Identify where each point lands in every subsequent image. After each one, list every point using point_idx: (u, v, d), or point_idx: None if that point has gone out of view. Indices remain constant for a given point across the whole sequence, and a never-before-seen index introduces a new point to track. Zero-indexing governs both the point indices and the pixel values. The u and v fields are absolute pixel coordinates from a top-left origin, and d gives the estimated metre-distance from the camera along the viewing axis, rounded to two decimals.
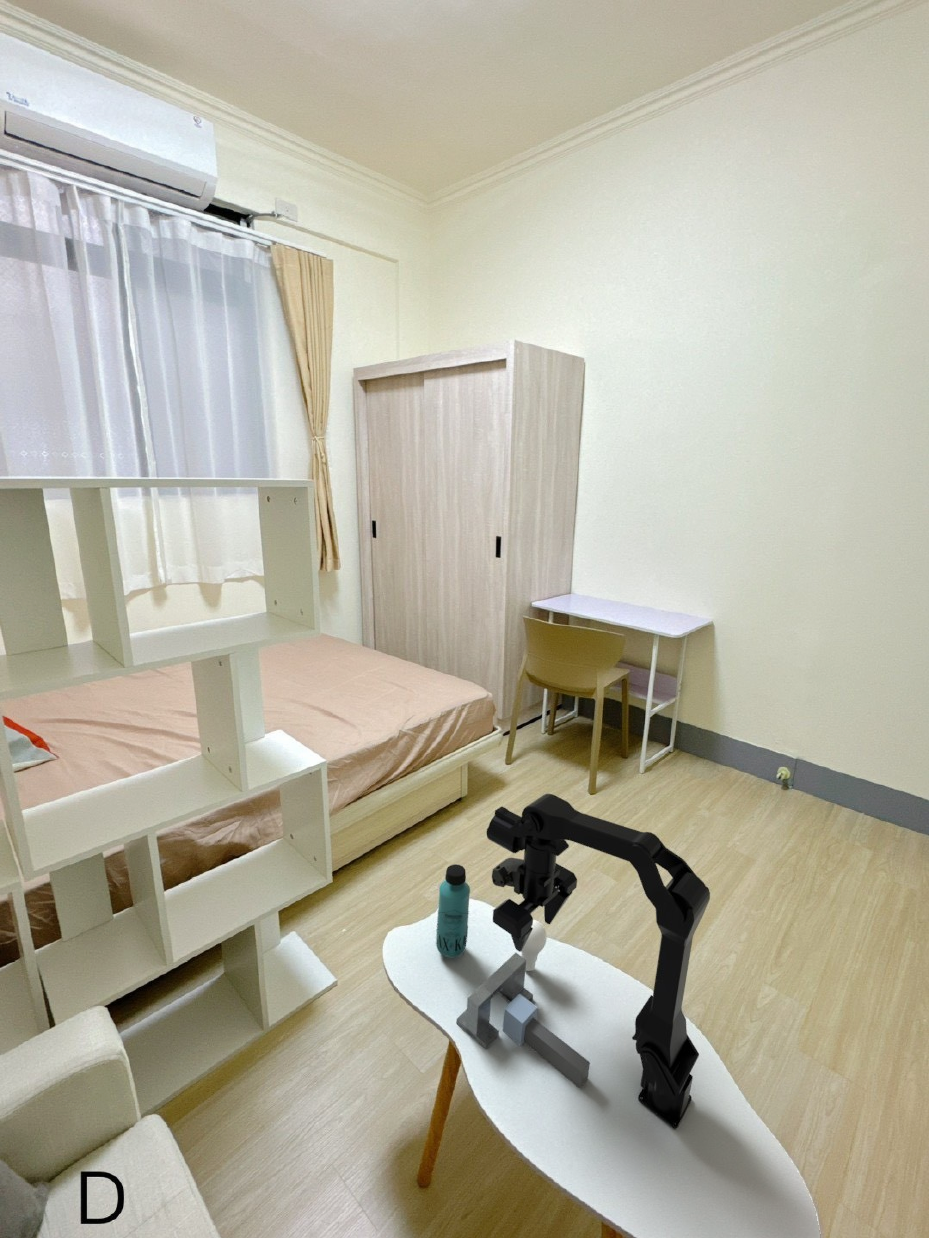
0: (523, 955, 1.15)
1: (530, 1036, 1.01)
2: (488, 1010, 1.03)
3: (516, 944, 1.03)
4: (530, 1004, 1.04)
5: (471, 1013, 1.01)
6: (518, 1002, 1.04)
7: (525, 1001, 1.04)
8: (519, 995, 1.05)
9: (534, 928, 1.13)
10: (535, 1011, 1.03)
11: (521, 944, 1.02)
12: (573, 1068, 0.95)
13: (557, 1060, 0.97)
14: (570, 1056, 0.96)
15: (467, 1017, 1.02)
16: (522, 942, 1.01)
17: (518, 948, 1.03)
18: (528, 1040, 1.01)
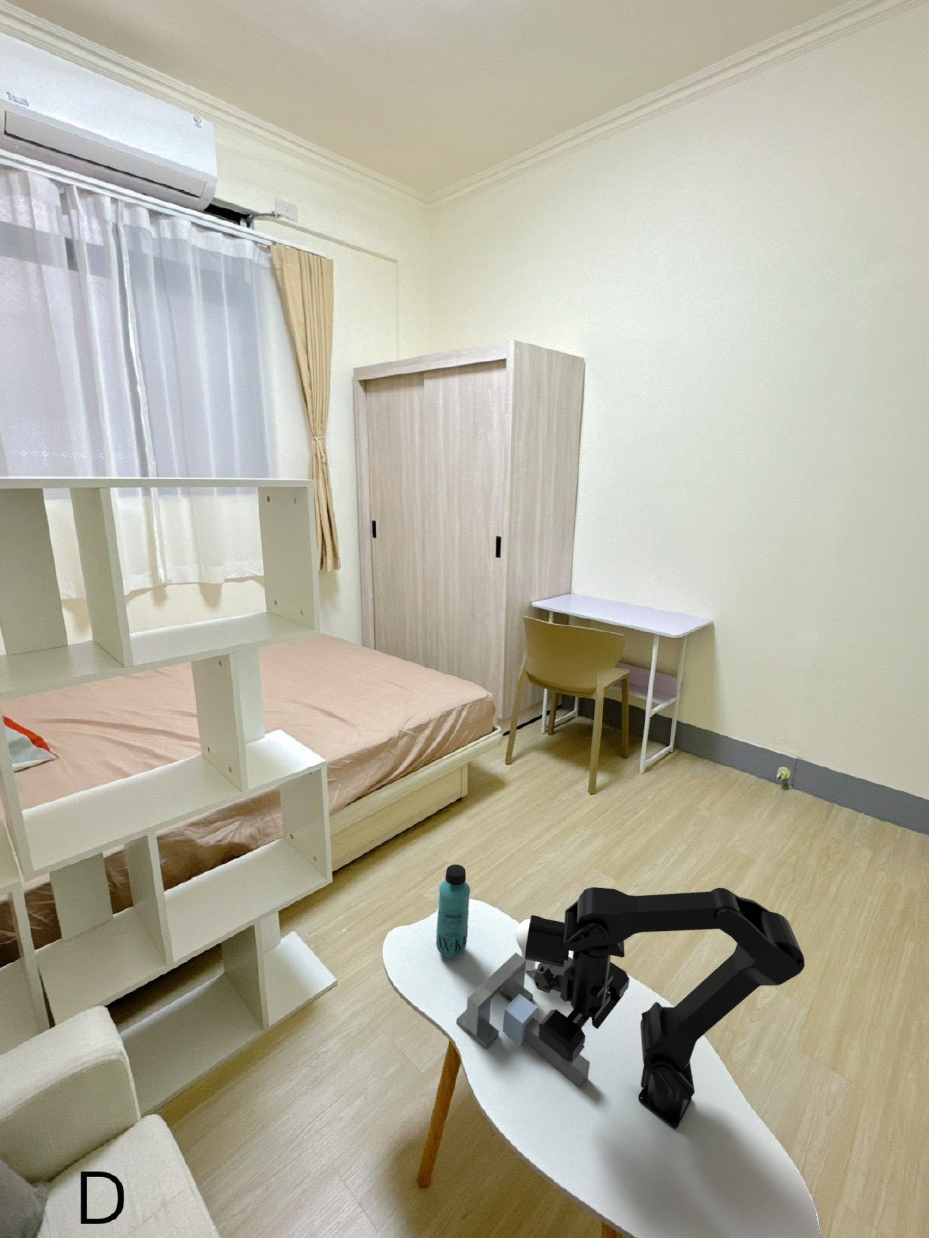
0: (523, 955, 1.15)
1: (530, 1036, 1.01)
2: (488, 1010, 1.03)
3: (563, 1059, 0.91)
4: (530, 1004, 1.04)
5: (471, 1013, 1.01)
6: (518, 1002, 1.04)
7: (525, 1001, 1.04)
8: (519, 995, 1.05)
9: None
10: (535, 1011, 1.03)
11: (570, 1061, 0.89)
12: (573, 1068, 0.95)
13: (557, 1060, 0.97)
14: None
15: (467, 1017, 1.02)
16: None
17: (566, 1064, 0.91)
18: (528, 1040, 1.01)
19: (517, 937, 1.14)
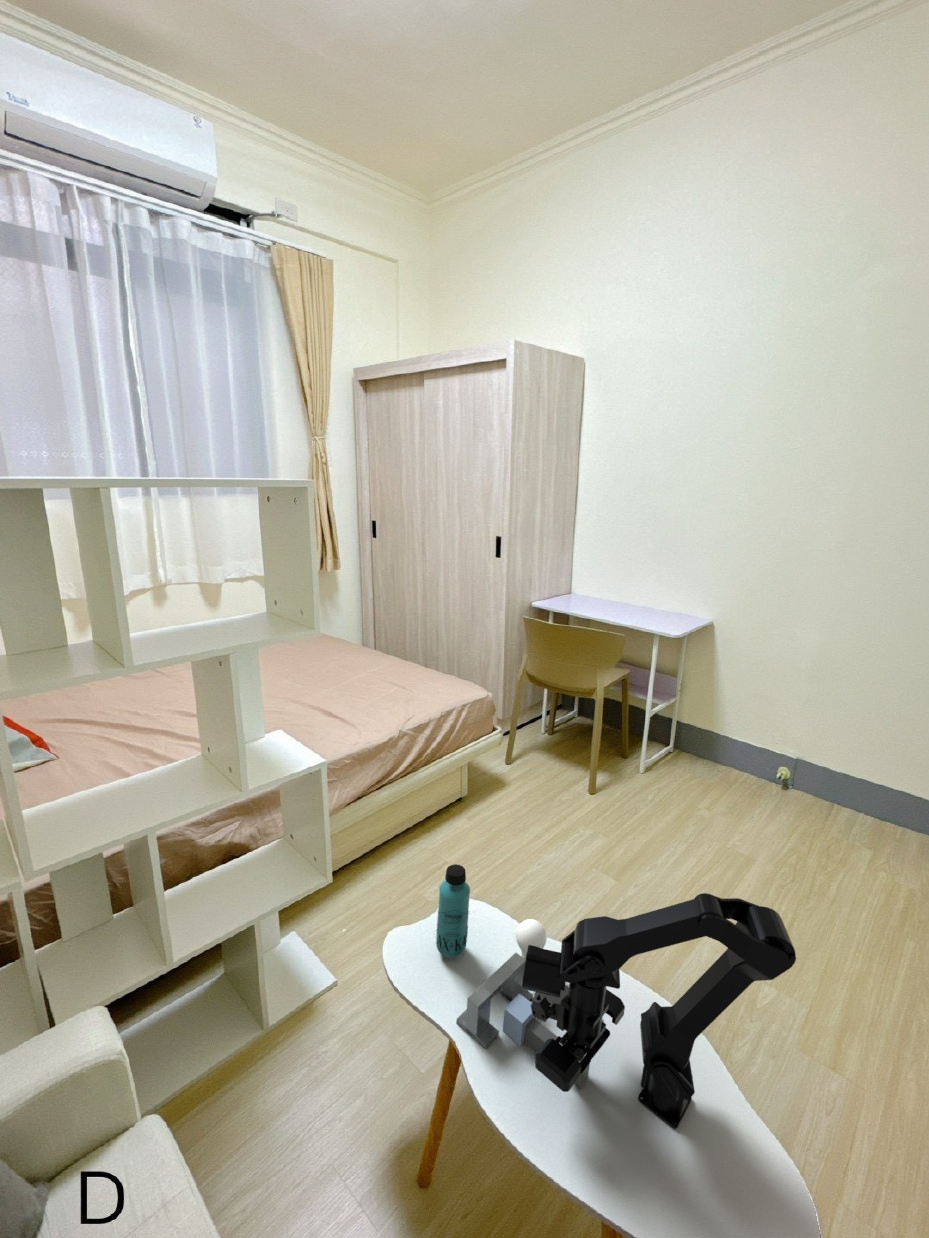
0: (523, 955, 1.15)
1: (530, 1036, 1.01)
2: (488, 1010, 1.03)
3: None
4: (530, 1003, 1.04)
5: (471, 1013, 1.01)
6: (518, 1002, 1.04)
7: (525, 1001, 1.04)
8: (519, 995, 1.05)
9: (534, 928, 1.13)
10: None
11: None
12: None
13: None
14: None
15: (467, 1017, 1.02)
16: (578, 1074, 0.92)
17: None
18: (528, 1040, 1.01)
19: (517, 937, 1.14)
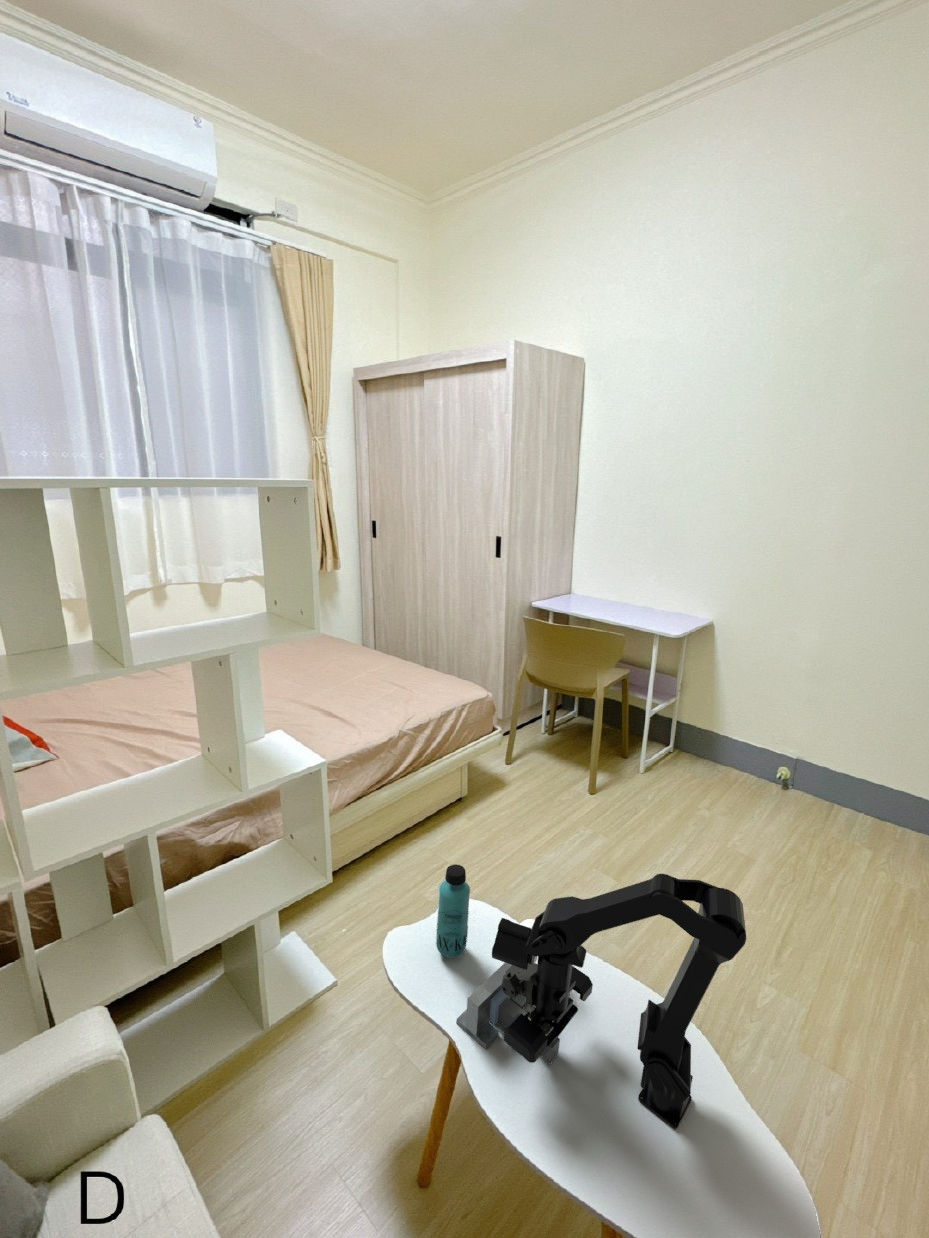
0: None
1: (503, 1015, 1.04)
2: (488, 1010, 1.03)
3: None
4: None
5: (471, 1013, 1.01)
6: None
7: None
8: None
9: None
10: None
11: (545, 1049, 0.97)
12: None
13: None
14: None
15: (467, 1017, 1.02)
16: (546, 1047, 0.96)
17: None
18: (502, 1019, 1.05)
19: None
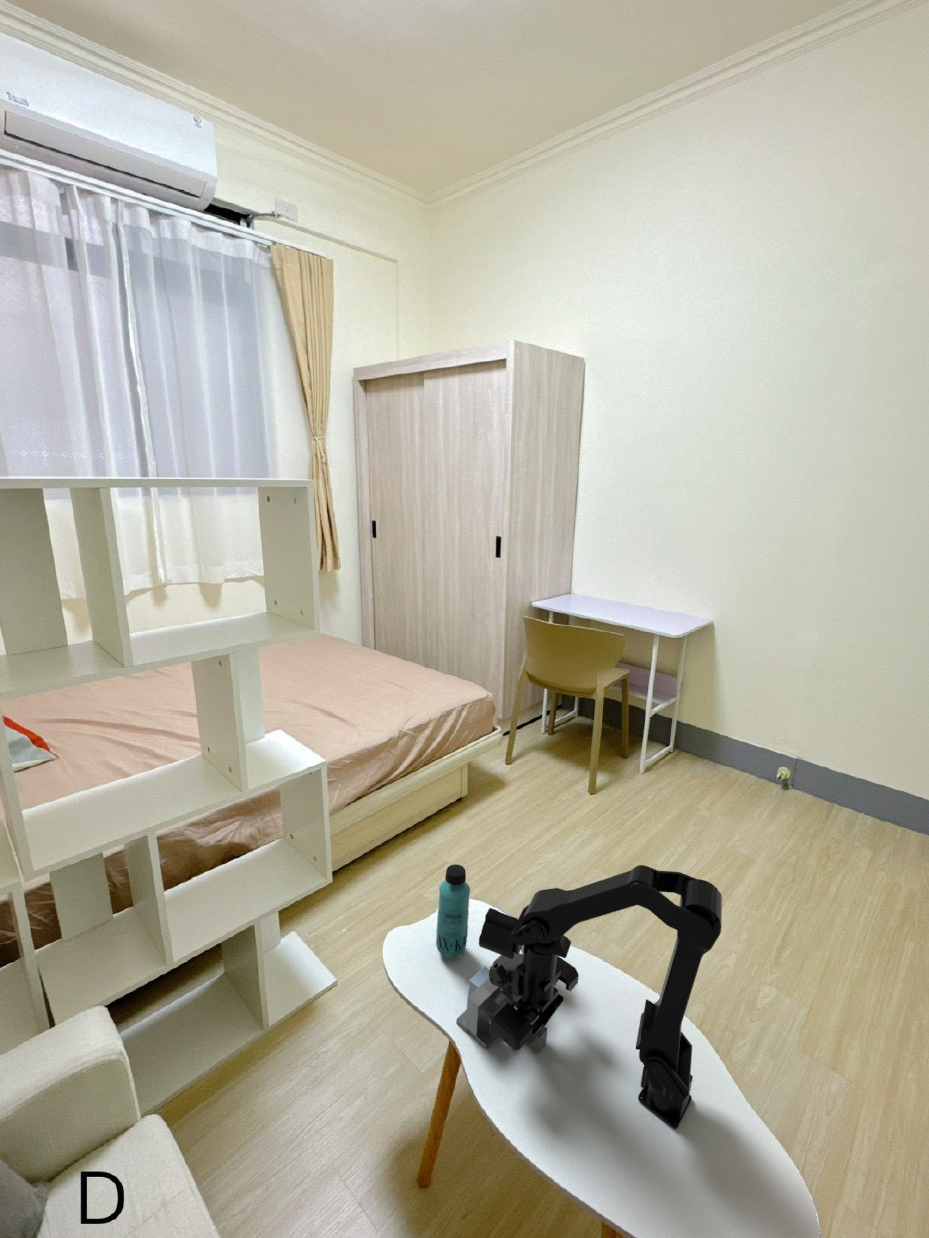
0: None
1: (492, 1005, 1.06)
2: (488, 1010, 1.03)
3: None
4: None
5: (471, 1013, 1.01)
6: (482, 974, 1.09)
7: None
8: (484, 968, 1.11)
9: None
10: None
11: (531, 1038, 0.99)
12: None
13: None
14: None
15: (467, 1017, 1.02)
16: (532, 1036, 0.98)
17: (528, 1040, 1.00)
18: (491, 1009, 1.06)
19: None
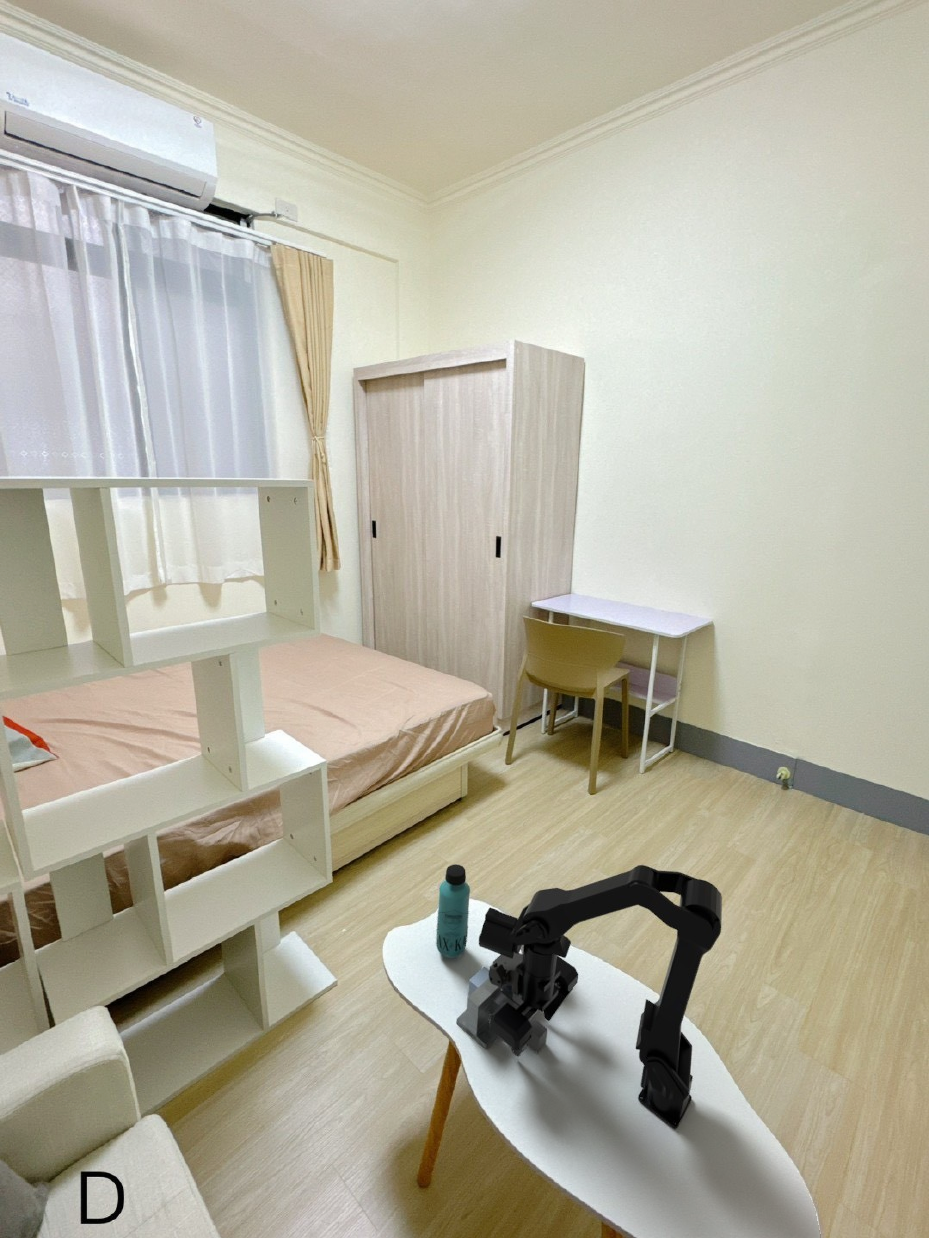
0: None
1: (492, 1005, 1.06)
2: (488, 1010, 1.03)
3: (513, 1049, 0.98)
4: None
5: (471, 1013, 1.01)
6: (482, 974, 1.09)
7: None
8: (484, 968, 1.11)
9: None
10: None
11: (519, 1050, 0.97)
12: (531, 1033, 1.00)
13: None
14: None
15: (467, 1017, 1.02)
16: (520, 1049, 0.96)
17: (516, 1053, 0.98)
18: (491, 1009, 1.06)
19: None
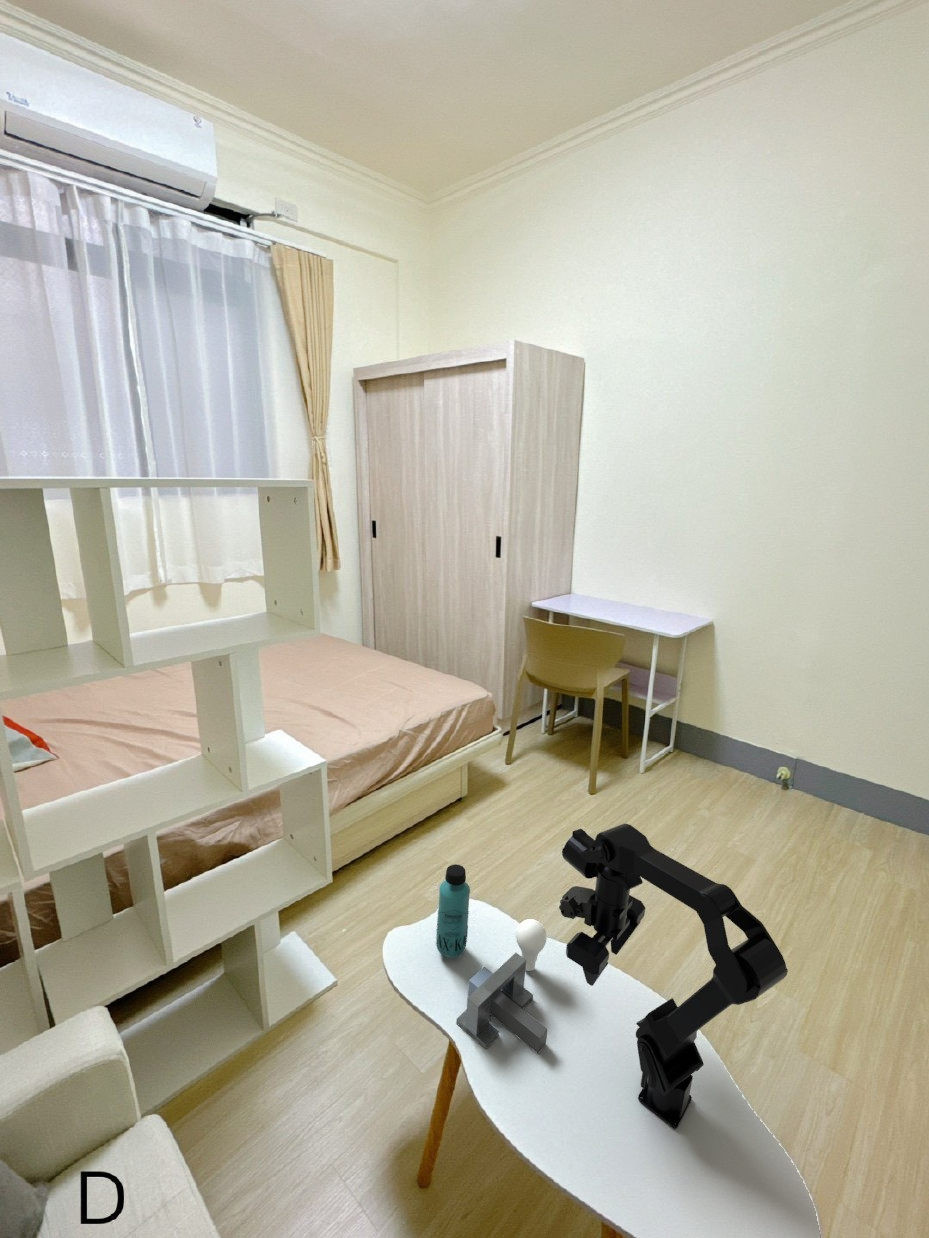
0: (523, 955, 1.15)
1: (492, 1005, 1.06)
2: (488, 1010, 1.03)
3: (588, 978, 1.00)
4: None
5: (471, 1013, 1.01)
6: (482, 974, 1.09)
7: (489, 973, 1.10)
8: (484, 968, 1.11)
9: (534, 928, 1.13)
10: None
11: (594, 978, 0.98)
12: (531, 1033, 1.00)
13: (517, 1027, 1.02)
14: (529, 1023, 1.02)
15: (467, 1017, 1.02)
16: (596, 977, 0.98)
17: (590, 982, 1.00)
18: (491, 1009, 1.06)
19: (517, 937, 1.14)
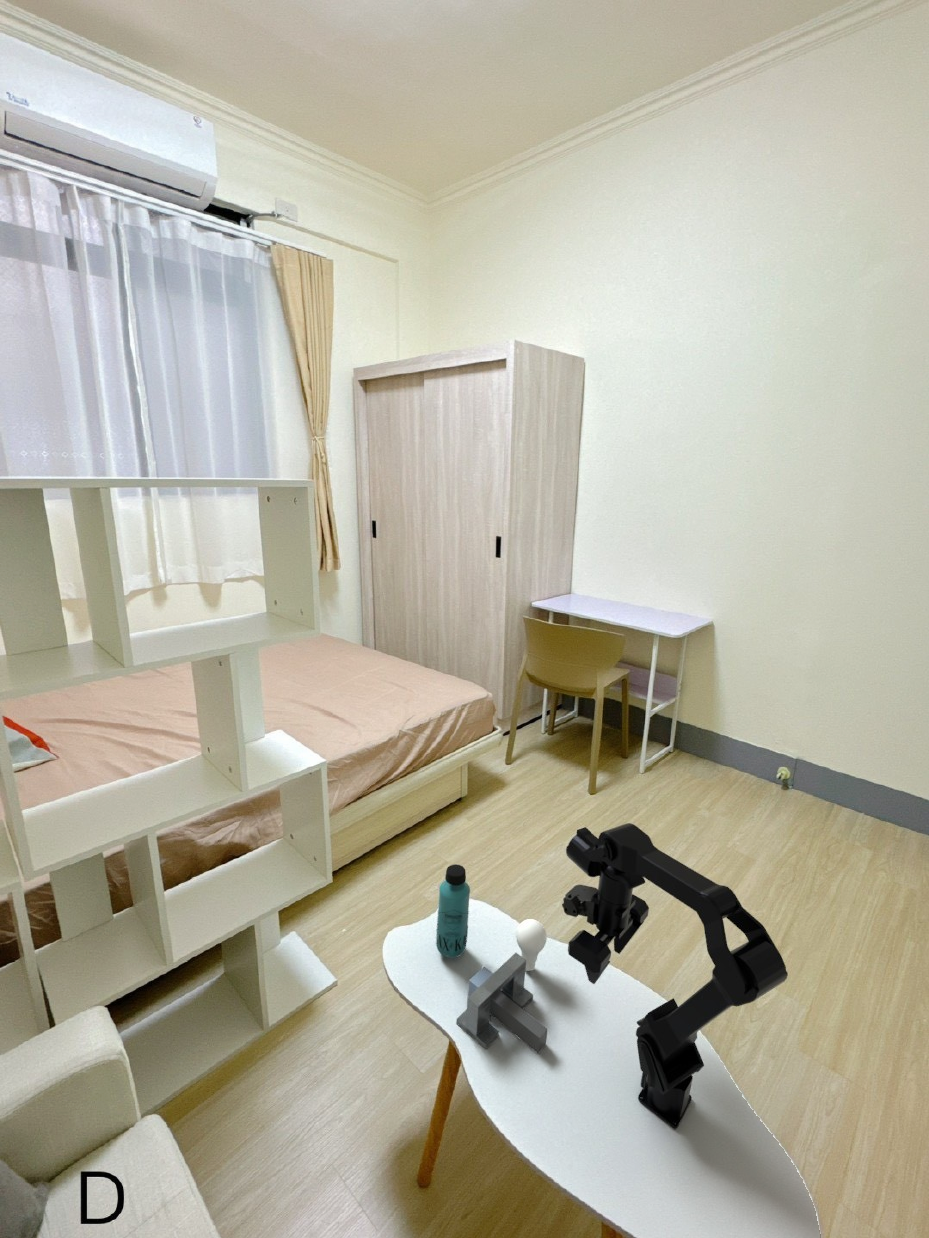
0: (523, 955, 1.15)
1: (492, 1005, 1.06)
2: (488, 1010, 1.03)
3: (589, 976, 1.00)
4: None
5: (471, 1013, 1.01)
6: (482, 974, 1.09)
7: (489, 973, 1.10)
8: (484, 968, 1.11)
9: (534, 928, 1.13)
10: None
11: (596, 977, 0.98)
12: (531, 1033, 1.00)
13: (517, 1027, 1.02)
14: (529, 1023, 1.02)
15: (467, 1017, 1.02)
16: (598, 975, 0.98)
17: (592, 980, 1.00)
18: (491, 1009, 1.06)
19: (517, 937, 1.14)
